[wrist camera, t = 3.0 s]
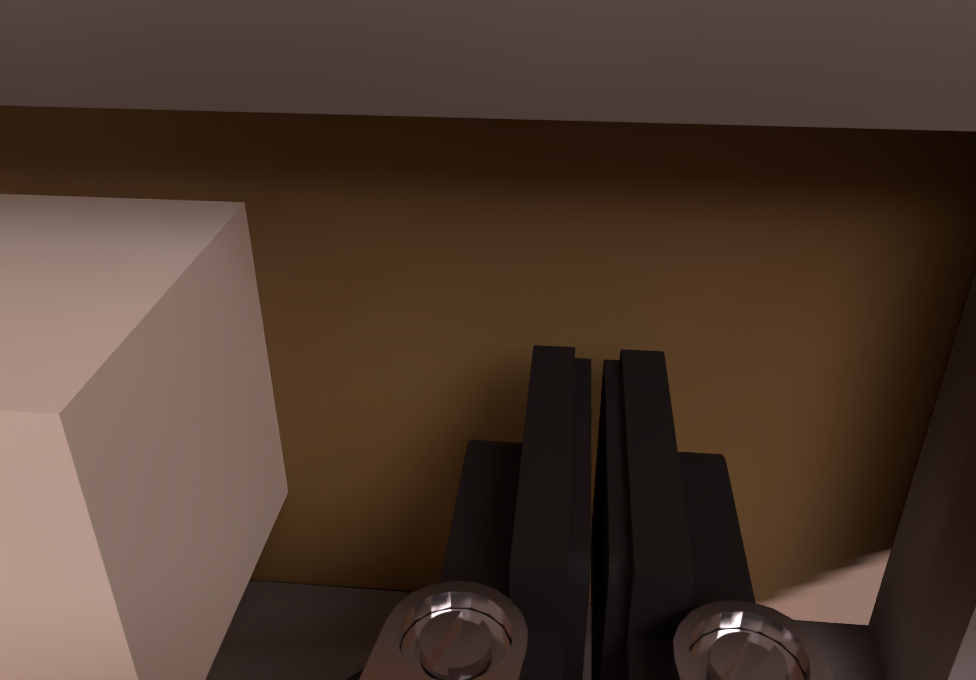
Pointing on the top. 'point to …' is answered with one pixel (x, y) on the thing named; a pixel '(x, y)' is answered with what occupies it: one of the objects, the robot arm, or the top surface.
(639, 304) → the top surface
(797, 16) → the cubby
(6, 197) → the blank block
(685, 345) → the top surface
